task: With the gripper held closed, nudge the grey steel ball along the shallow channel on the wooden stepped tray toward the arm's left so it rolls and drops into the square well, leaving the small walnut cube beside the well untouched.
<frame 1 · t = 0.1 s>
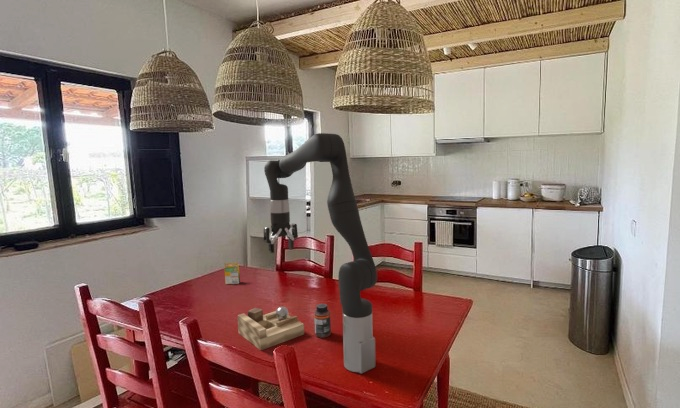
hand: (281, 251, 146), 29 cm above the table, tool pointing down, fingers open, 8 cm apart
walnut cube: (255, 320, 140), point 4 cm above the table, touching wooden stepped tray
wooden stepped tray: (271, 333, 138), on the table
crayon box: (232, 283, 199), on the table
ball: (281, 313, 140), point 6 cm above the table, touching wooden stepped tray
supplement bottle: (323, 335, 136), on the table
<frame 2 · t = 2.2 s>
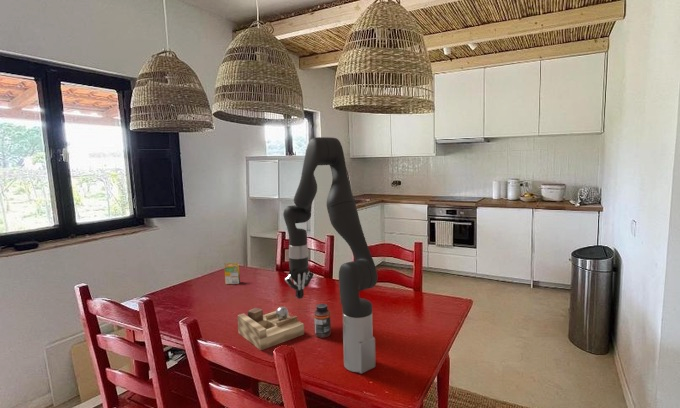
hand: (299, 298, 145), 10 cm above the table, tool pointing down, fingers closed
nothing on the table moved.
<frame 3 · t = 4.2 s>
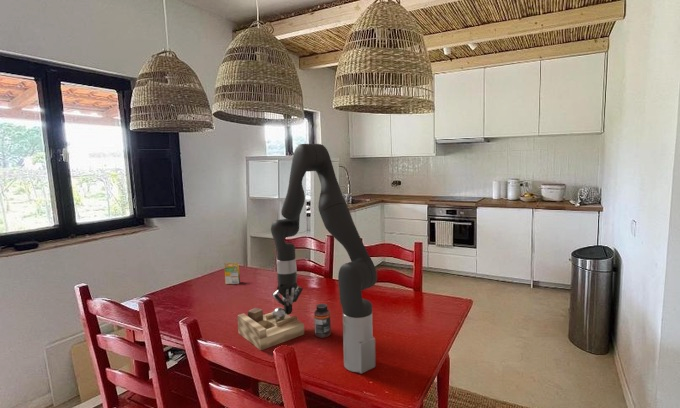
hand: (288, 313, 142), 6 cm above the table, tool pointing down, fingers closed
ball: (279, 314, 140), point 7 cm above the table
everything else where it was.
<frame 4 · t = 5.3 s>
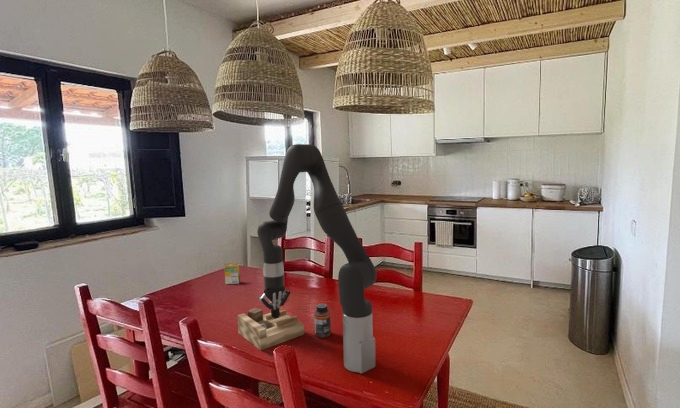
hand: (275, 317, 139), 6 cm above the table, tool pointing down, fingers closed
ball: (260, 330, 135), point 2 cm above the table, tilted 130°
everything else where it was.
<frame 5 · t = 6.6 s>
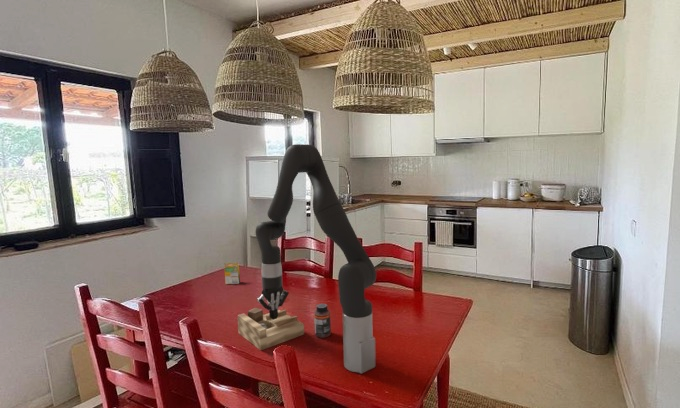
hand: (273, 318, 138), 6 cm above the table, tool pointing down, fingers closed
nothing on the table moved.
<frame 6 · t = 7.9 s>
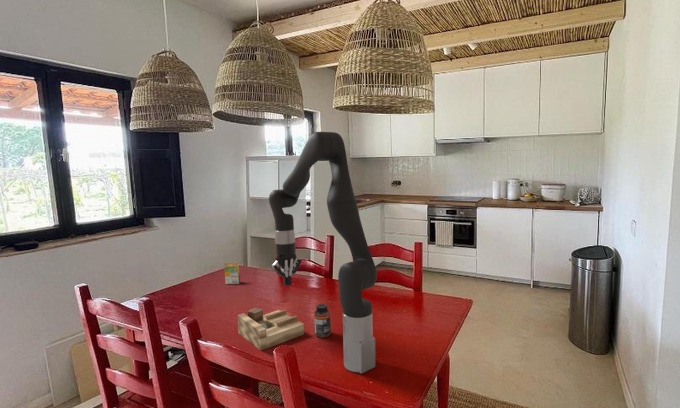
hand: (287, 285, 141), 17 cm above the table, tool pointing down, fingers closed
nothing on the table moved.
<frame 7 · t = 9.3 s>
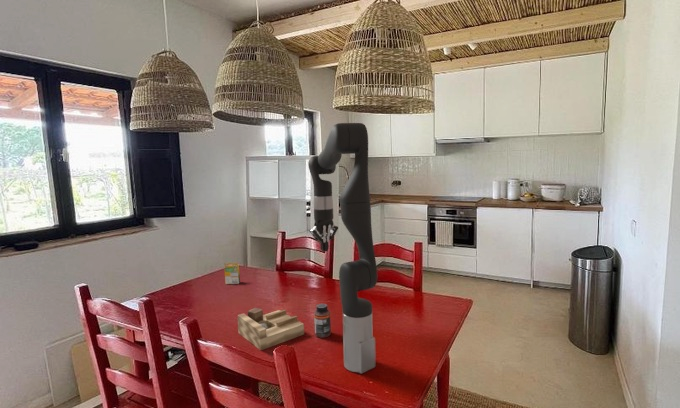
hand: (324, 251, 144), 29 cm above the table, tool pointing down, fingers closed
nothing on the table moved.
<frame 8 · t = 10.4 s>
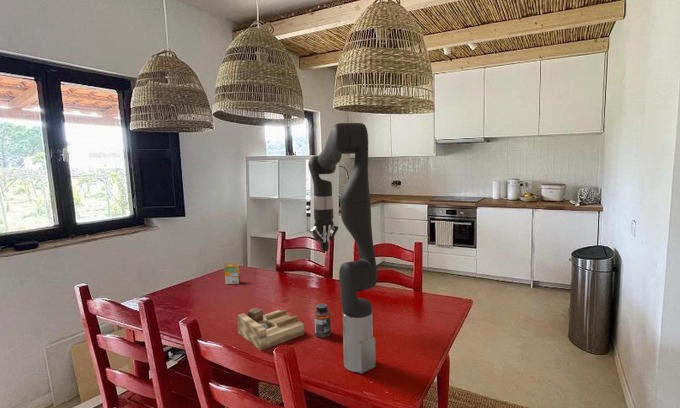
hand: (324, 251, 144), 29 cm above the table, tool pointing down, fingers closed
nothing on the table moved.
at the end: ball 0.6 cm from the target spot on the wooden stepped tray, point 2.5 cm above the wooden stepped tray's base; walnut cube moved 0.0 cm from its start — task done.
